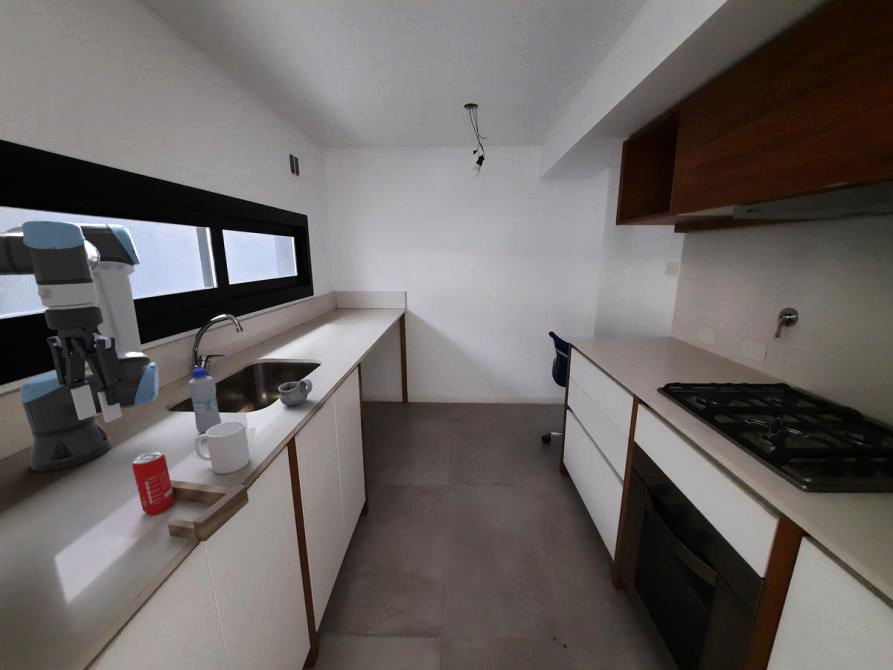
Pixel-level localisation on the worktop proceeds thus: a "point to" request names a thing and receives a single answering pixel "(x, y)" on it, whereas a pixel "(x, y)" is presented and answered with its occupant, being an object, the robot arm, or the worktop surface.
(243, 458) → the cup
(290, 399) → the mug
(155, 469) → the beverage can
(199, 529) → the hook tool
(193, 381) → the bottle
